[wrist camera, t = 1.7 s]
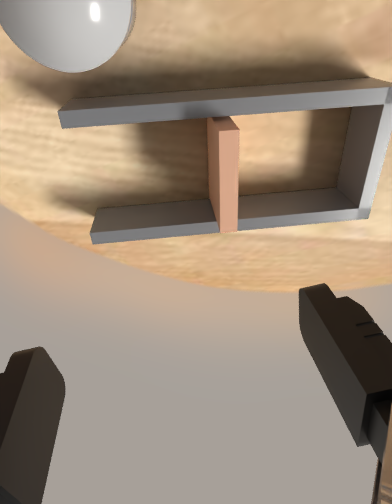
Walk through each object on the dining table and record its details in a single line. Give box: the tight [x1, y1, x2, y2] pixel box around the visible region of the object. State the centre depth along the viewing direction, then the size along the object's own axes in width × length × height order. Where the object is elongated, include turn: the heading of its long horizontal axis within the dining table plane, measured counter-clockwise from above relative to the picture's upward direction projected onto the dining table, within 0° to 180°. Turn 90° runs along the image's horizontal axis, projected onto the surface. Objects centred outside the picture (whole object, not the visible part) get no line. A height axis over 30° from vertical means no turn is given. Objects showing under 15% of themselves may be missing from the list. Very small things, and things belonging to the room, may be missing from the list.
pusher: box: [207, 116, 239, 233], centre depth 24 cm, size 7×1×6 cm, turn 3°
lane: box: [57, 78, 392, 244], centre depth 25 cm, size 10×22×4 cm, turn 93°
